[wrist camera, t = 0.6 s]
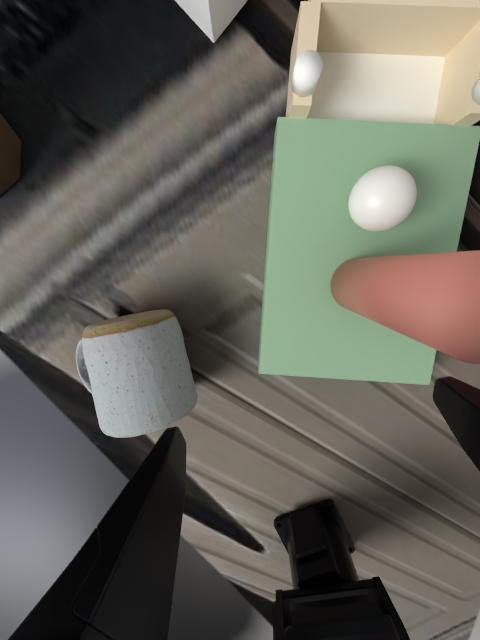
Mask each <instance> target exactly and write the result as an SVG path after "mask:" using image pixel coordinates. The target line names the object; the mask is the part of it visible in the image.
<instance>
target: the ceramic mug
mask: <svg viewBox="0 0 480 640" xmlns="http://www.w3.org/2000/svg"><path fill="white" fill-rule="evenodd" d="M76 364H77V370H78V373H79V375H80V378H81V380H82V382H83V384H84V385H85V387H86V388H87V389H88V390H89V391H90V392H91V393H92V394H93V399H94V403H95V408H96V413H97V417H98V422H99V426H100V428H101V430H102V432H103V433H104V434H106V435H108V436H112V437H117V438H119V437H124V438H125V437H134V436H139V435H143V434H147V433H152V432H155V431H158V430H161V429H163V428H166V427H168V426H170V425H172V424H173V423H175V422H177V421H178V420H180V419H182V418H183V417H185V416H186V415H187V414H188V413H189V412H190V411H191V410H192V409H193V407H194V406H195V404H196V402H197V393H196V389H195V385H194V381H193V377H192V373H191V368H190V364H189V360H188V356H187V353H186V349H185V344H184V339H183V334H182V331H181V327H180V325H179V323H178V320H177V318H176V316H175V314H174V313H173V312H171V311H170V310H168V309H160V310H152V311H146V312H141V313H136V314H130V315H126V316H121V317H116V318H112V319H108V320H104V321H100V322H96V323H93V324H91V325H88V326H87V327H86V328H85V329H84V331H83V333H82V340H80V341H79V343H78V345H77V349H76Z"/></svg>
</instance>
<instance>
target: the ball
mask: <svg viewBox="0 0 480 640" xmlns="http://www.w3.org/2000/svg"><path fill="white" fill-rule="evenodd" d="M416 197H417V188H416V184H415V181H414V179H413V177H412V176H411V175H410V174H409V173H408V172H407V171H406V170H404V169H402V168H400V167H398V166H393V165H385V166H380V167H376V168H374V169H372V170H370V171H368V172H367V173H365V174H364V175H363V176H362V177H361V178H359V180H358V181H357V182H356V183H355V185H354V186H353V188H352V190H351V193H350V196H349V202H348V208H349V213H350V216H351V218H352V219H353V221H354V222H355V223H356V224H357V225H358V226H359V227H361V228H362V229H364V230H367V231H372V232H380V231H386V230H389V229H391V228H394V227H396V226H397V225H399V224H400V223H401V222H403V221H404V220H405V219H406V218H407V217H408V215H409V214H410V212H411V211H412V209H413V207H414V205H415V201H416Z"/></svg>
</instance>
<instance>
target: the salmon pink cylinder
mask: <svg viewBox="0 0 480 640" xmlns="http://www.w3.org/2000/svg"><path fill="white" fill-rule="evenodd" d="M330 286H331V293H332V296H333V298H334V299H335V301H336V302H337V303H338V304H339V305H340V306H342V307H344V308H346V309H348V310H350V311H352V312H355V313H357V314H359V315H361V316H363V317H366V318H368V319H370V320H372V321H374V322H377V323H379V324H381V325H383V326H385V327H388V328H390V329H392V330H394V331H396V332H399V333H401V334H403V335H405V336H407V337H409V338H412V339H414V340H416V341H418V342H420V343H423V344H425V345H427V346H429V347H431V348H434V349H436V350H438V351H440V352H442V353H445V354H447V355H449V356H451V357H453V358H456V359H458V360H460V361H463V362H467V363H473V364H480V250H478V251H461V252H445V253H429V254H412V255H396V256H380V257H364V258H353V259H350V260H347V261H345V262H344V263H342V264H341V265H340V266H339V267H338V268H337V269H336V270H335V272H334V274H333V276H332V279H331V285H330Z"/></svg>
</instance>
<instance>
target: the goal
mask: <svg viewBox="0 0 480 640" xmlns="http://www.w3.org/2000/svg"><path fill="white" fill-rule="evenodd" d="M286 117H289V118H300V119H306V118H313V119H335V120H356V121H378V122H400V123H421V124H443V125H452V126H471V125H473V124H475V123H476V122H478V121H479V120H480V0H308V1H301V4H300V9H299V14H298V19H297V24H296V29H295V35H294V40H293V45H292V50H291V60H290V72H289V85H288V98H287V110H286Z"/></svg>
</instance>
